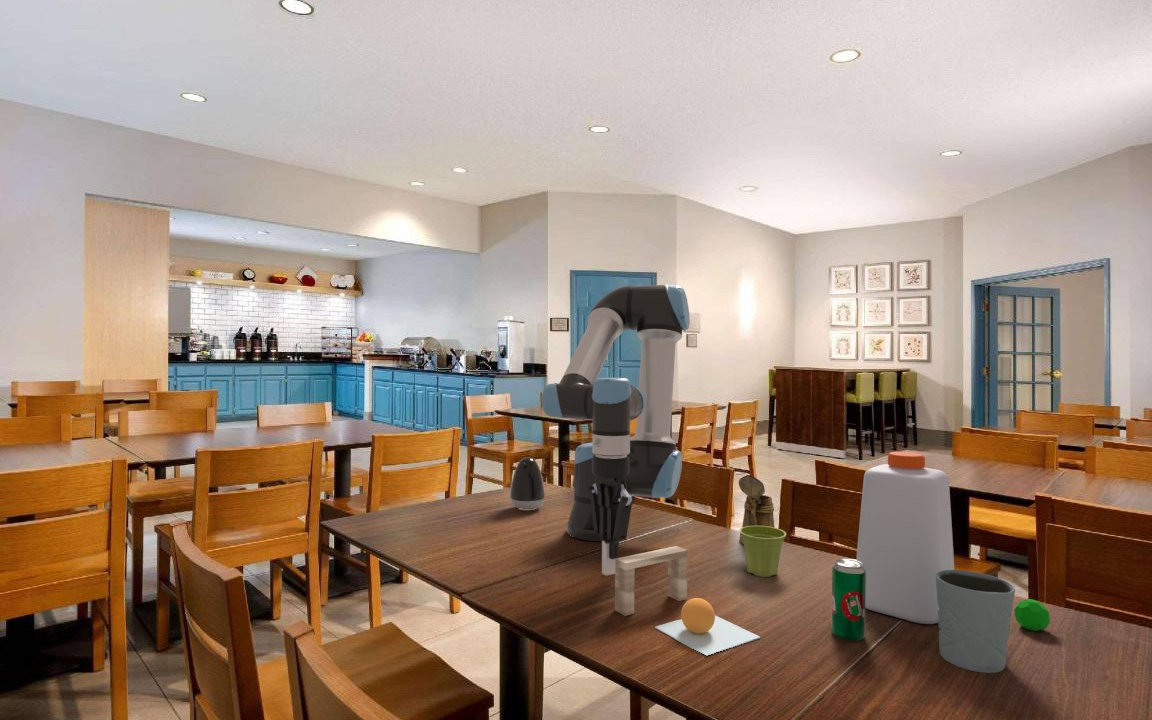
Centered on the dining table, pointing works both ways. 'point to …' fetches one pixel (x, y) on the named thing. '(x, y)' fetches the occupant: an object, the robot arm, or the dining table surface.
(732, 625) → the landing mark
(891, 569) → the plastic bottle
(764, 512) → the wooden mug
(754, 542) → the plant pot
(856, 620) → the soda can
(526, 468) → the black rounded dome
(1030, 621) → the polyhedron
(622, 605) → the bridge
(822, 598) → the dining table surface
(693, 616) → the ball
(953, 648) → the grey cup
